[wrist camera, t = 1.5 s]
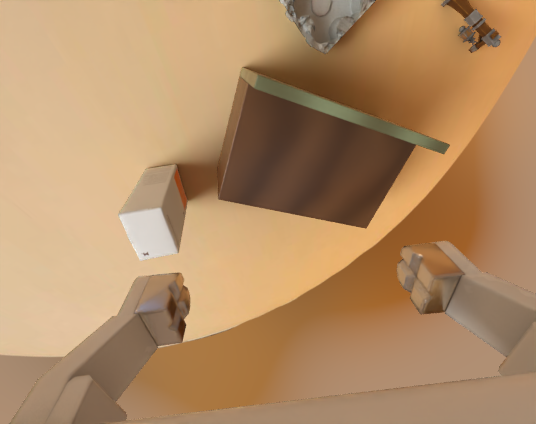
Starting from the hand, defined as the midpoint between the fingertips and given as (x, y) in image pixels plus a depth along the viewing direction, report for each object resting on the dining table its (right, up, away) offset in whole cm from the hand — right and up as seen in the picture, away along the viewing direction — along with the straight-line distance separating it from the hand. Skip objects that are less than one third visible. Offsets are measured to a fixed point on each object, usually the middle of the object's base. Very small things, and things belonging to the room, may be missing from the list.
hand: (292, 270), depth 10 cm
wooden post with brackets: (+22, +26, +22) cm, 41 cm away
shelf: (+3, +11, +27) cm, 29 cm away
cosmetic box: (-15, +6, +26) cm, 31 cm away
